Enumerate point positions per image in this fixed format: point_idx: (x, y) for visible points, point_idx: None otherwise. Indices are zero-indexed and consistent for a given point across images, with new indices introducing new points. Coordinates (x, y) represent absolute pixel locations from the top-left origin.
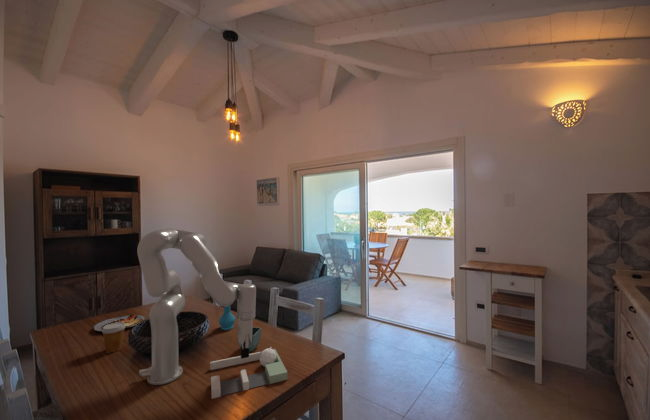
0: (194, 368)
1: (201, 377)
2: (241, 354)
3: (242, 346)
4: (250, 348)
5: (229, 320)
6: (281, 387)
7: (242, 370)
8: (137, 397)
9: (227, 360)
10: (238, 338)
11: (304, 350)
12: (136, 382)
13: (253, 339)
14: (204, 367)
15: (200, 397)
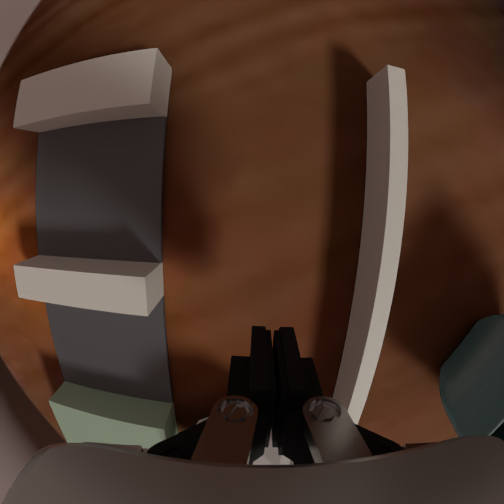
0: (416, 21)
1: (296, 23)
2: (251, 348)
3: (199, 433)
4: (449, 373)
5: None
6: (44, 399)
7: (137, 291)
8: None
9: (383, 199)
10: (316, 500)
11: None
12: None
13: (457, 432)
14: (412, 63)
15: (87, 35)
